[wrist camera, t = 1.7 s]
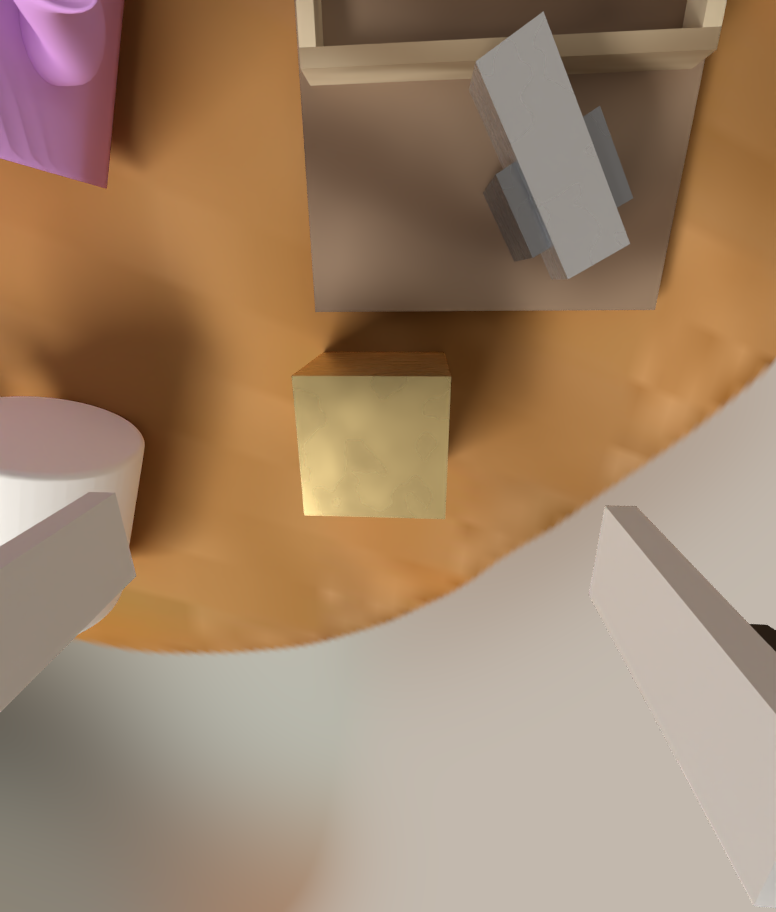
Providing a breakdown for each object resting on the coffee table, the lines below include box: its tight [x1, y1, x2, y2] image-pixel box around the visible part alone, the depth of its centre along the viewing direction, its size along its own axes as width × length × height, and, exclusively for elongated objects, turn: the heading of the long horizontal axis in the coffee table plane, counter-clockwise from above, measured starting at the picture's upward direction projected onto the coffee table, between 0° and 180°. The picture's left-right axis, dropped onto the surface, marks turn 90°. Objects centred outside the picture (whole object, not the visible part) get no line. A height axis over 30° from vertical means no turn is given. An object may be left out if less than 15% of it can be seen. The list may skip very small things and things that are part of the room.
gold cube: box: [292, 352, 451, 519], centre depth 21 cm, size 6×6×6 cm
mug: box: [0, 396, 145, 633], centre depth 22 cm, size 12×10×8 cm
